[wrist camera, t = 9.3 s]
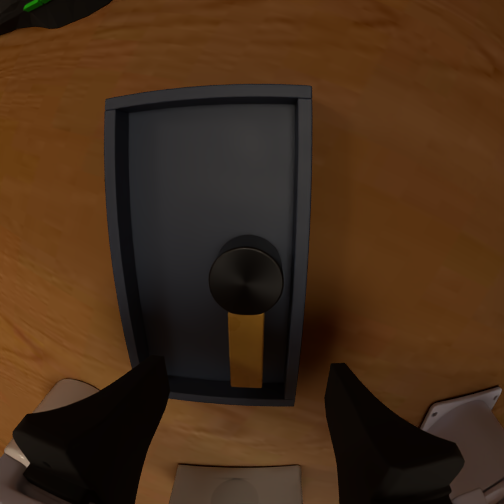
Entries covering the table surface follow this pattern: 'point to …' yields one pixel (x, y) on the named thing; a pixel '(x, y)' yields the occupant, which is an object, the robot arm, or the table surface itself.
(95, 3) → the computer mouse
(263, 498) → the cosmetics box
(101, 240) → the table surface
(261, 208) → the tray
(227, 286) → the key
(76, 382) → the pill bottle
